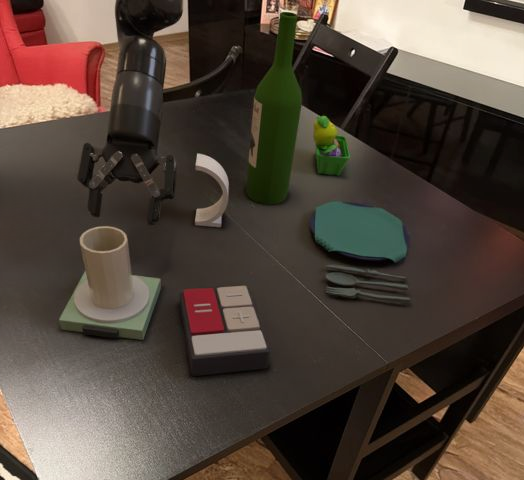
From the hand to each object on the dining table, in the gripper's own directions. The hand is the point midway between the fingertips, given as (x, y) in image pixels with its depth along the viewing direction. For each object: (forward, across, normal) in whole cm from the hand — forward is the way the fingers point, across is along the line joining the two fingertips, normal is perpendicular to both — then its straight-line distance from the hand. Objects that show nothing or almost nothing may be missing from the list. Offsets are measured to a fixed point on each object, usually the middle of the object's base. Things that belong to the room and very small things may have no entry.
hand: (122, 220), depth 73 cm
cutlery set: (-4, +40, +18) cm, 44 cm away
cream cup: (+12, 0, -1) cm, 12 cm away
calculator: (+16, +17, -1) cm, 23 cm away
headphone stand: (-6, +11, +20) cm, 24 cm away
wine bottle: (-16, +21, +30) cm, 40 cm away
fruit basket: (-28, +34, +42) cm, 60 cm away
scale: (+14, 0, +1) cm, 14 cm away
